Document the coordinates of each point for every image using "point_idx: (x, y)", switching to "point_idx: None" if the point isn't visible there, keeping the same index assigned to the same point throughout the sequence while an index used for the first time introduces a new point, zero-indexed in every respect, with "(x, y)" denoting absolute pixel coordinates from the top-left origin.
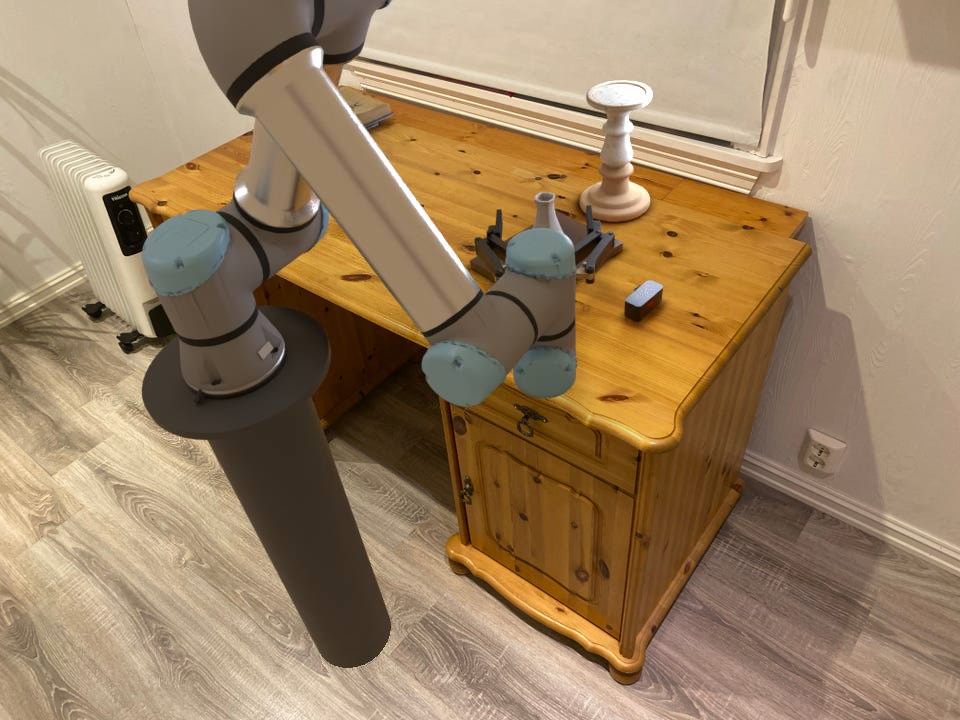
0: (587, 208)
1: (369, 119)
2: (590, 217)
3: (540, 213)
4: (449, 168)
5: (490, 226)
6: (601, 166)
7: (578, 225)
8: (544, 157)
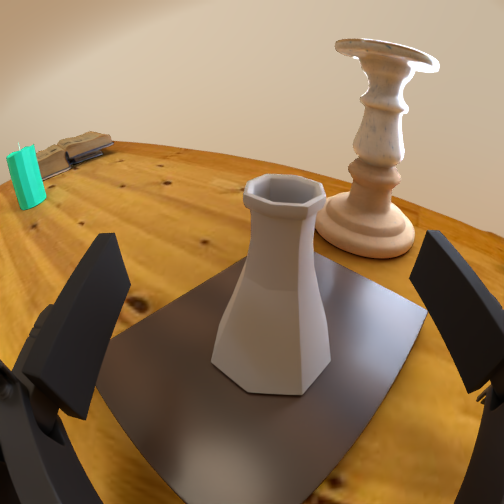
0: (439, 242)
1: (90, 147)
2: (477, 282)
3: (266, 252)
4: (138, 180)
5: (48, 311)
6: (354, 164)
7: (330, 267)
8: (251, 169)
